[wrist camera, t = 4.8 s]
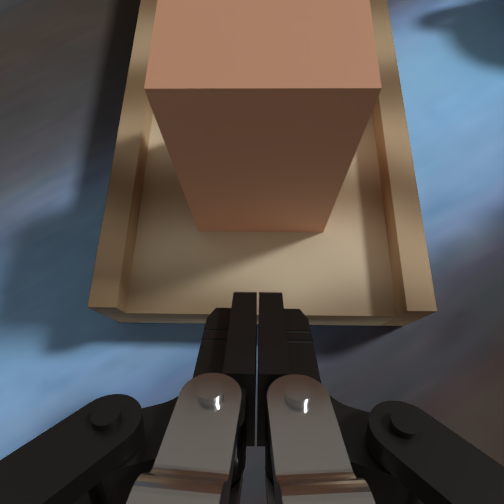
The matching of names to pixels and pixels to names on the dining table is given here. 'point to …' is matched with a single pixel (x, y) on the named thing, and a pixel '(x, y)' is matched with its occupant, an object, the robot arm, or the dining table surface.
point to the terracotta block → (262, 106)
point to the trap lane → (264, 243)
